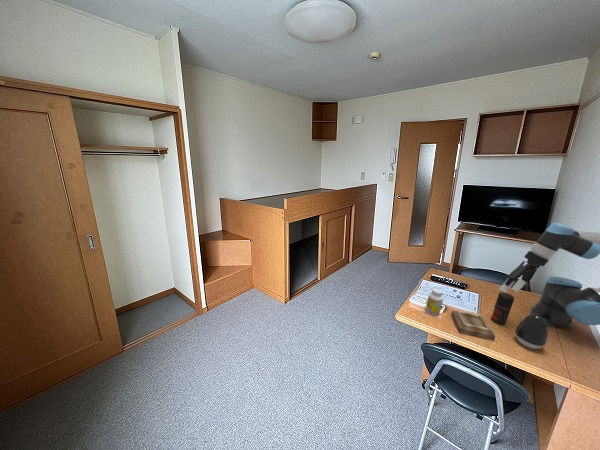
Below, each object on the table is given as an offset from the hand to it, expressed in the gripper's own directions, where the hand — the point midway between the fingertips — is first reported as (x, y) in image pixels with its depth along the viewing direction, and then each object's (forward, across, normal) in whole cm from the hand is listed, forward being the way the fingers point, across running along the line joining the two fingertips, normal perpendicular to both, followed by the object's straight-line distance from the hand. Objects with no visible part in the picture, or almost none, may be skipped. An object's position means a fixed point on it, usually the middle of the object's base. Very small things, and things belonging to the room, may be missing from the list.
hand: (508, 290), depth 118 cm
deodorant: (+17, -4, +4) cm, 18 cm away
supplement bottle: (+27, +20, -13) cm, 36 cm away
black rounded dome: (+15, +1, +18) cm, 24 cm away
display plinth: (+22, +13, +1) cm, 25 cm away
